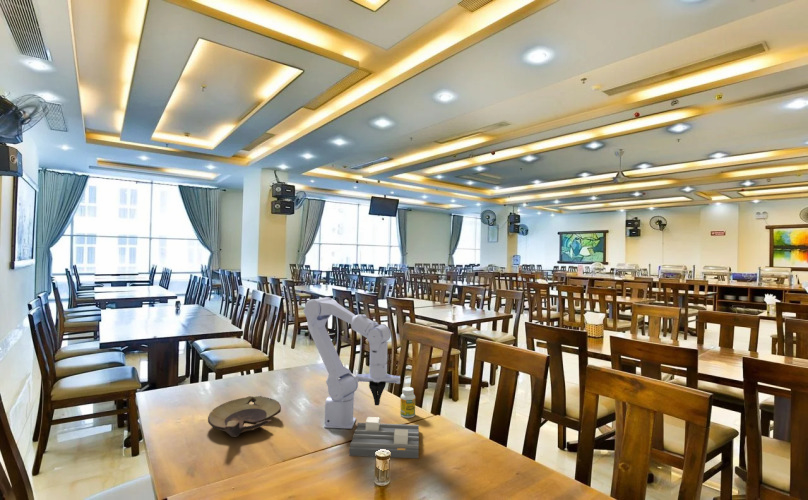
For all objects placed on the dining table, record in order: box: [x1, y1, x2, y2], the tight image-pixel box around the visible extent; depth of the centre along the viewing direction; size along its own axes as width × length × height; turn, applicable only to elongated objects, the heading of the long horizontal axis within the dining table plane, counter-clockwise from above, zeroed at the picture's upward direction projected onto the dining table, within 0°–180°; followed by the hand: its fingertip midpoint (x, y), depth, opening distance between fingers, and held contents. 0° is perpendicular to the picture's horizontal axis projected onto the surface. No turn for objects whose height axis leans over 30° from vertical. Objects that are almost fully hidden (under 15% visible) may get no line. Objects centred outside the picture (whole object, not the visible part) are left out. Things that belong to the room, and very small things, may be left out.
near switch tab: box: [394, 429, 408, 444], centre depth 118 cm, size 4×4×3 cm
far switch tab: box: [365, 416, 381, 431], centre depth 127 cm, size 4×4×3 cm
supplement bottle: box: [399, 386, 416, 419], centre depth 143 cm, size 5×5×10 cm
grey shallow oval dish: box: [207, 395, 282, 438], centre depth 131 cm, size 22×30×8 cm
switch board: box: [348, 422, 420, 459], centre depth 123 cm, size 20×17×3 cm
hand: (377, 404), depth 129 cm, fingers closed
